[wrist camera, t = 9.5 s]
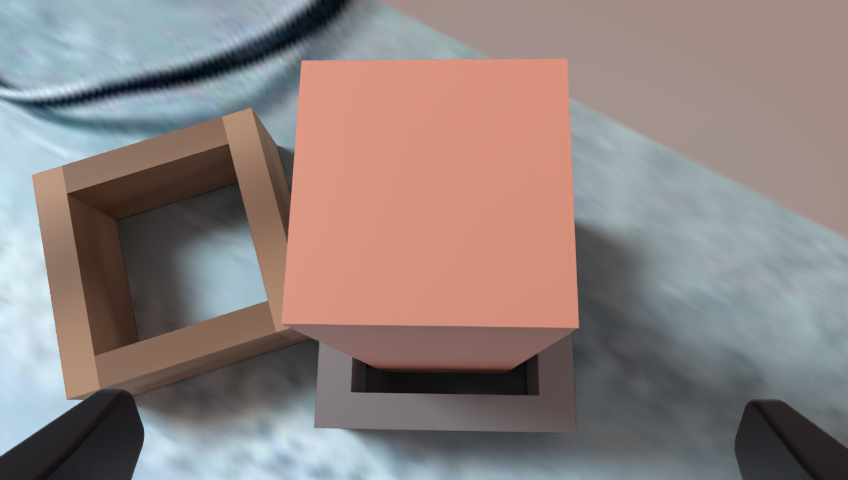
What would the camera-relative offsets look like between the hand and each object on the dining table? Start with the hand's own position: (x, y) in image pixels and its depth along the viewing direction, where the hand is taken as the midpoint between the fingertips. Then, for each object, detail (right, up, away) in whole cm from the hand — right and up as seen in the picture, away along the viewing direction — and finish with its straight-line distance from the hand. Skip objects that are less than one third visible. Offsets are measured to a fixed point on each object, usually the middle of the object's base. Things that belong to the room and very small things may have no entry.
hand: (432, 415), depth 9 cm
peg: (+1, 0, +12) cm, 12 cm away
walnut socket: (-8, +2, +13) cm, 15 cm away
